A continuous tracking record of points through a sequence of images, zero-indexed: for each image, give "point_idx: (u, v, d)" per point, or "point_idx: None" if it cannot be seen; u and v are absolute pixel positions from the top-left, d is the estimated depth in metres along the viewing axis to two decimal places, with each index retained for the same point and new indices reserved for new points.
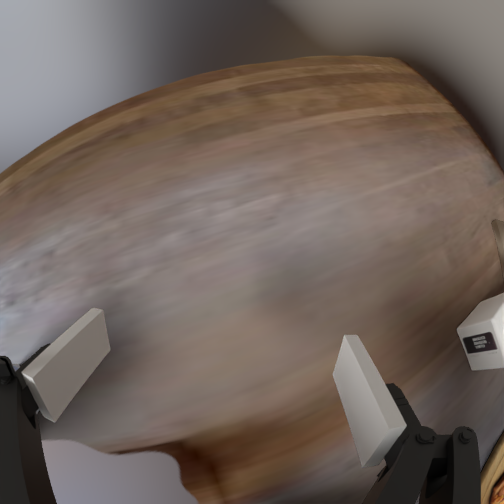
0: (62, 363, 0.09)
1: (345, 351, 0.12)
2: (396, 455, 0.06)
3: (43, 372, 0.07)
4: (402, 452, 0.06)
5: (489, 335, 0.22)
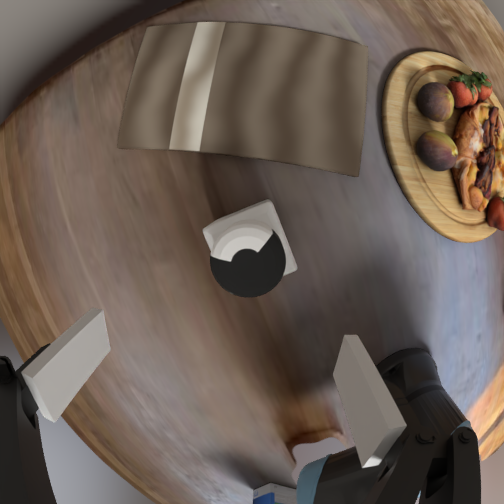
0: (62, 363, 0.09)
1: (345, 351, 0.12)
2: (396, 455, 0.06)
3: (43, 372, 0.07)
4: (402, 452, 0.06)
5: None
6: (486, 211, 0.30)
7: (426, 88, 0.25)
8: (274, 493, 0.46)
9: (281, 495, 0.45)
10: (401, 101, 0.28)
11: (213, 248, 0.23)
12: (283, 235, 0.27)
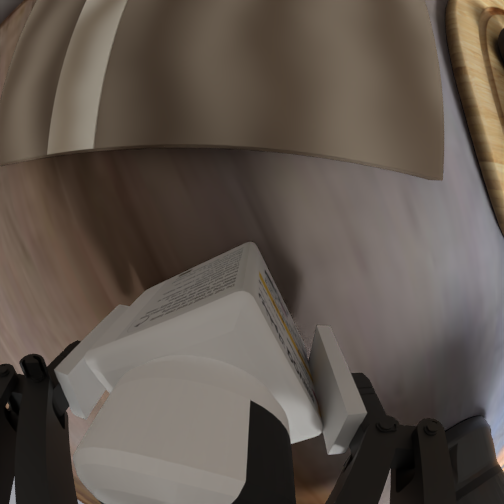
0: None
1: (317, 341, 0.13)
2: (359, 445, 0.07)
3: (77, 368, 0.08)
4: (363, 442, 0.06)
5: None
6: None
7: None
8: None
9: None
10: (479, 47, 0.09)
11: (76, 470, 0.04)
12: (290, 380, 0.09)
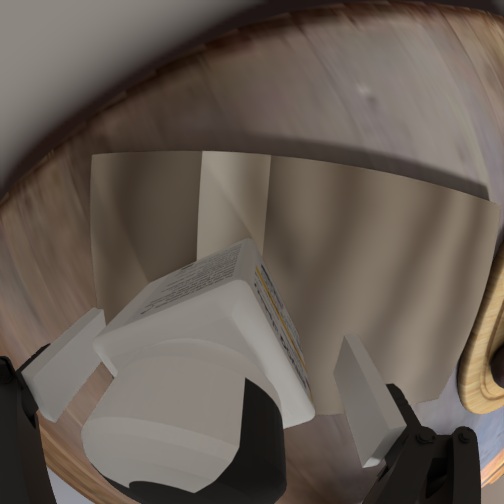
0: (62, 363, 0.09)
1: (345, 351, 0.12)
2: (396, 455, 0.06)
3: (43, 372, 0.07)
4: (402, 452, 0.06)
5: None
6: None
7: None
8: None
9: None
10: (500, 306, 0.17)
11: (83, 445, 0.05)
12: (282, 363, 0.10)
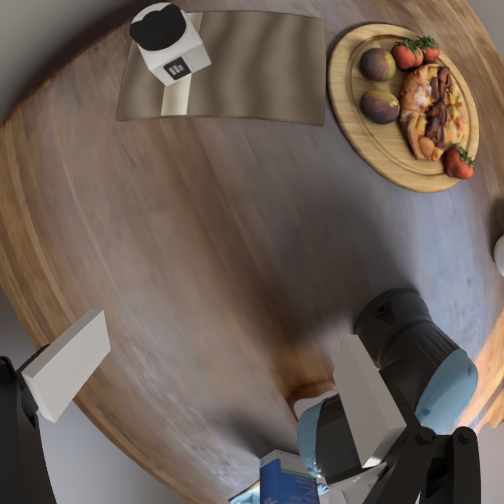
0: (62, 363, 0.09)
1: (345, 351, 0.12)
2: (396, 455, 0.06)
3: (43, 372, 0.07)
4: (402, 452, 0.06)
5: (167, 66, 0.28)
6: (444, 163, 0.35)
7: (365, 53, 0.29)
8: (280, 459, 0.51)
9: (288, 462, 0.51)
10: (344, 68, 0.32)
11: None
12: (190, 23, 0.25)
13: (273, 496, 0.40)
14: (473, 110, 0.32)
